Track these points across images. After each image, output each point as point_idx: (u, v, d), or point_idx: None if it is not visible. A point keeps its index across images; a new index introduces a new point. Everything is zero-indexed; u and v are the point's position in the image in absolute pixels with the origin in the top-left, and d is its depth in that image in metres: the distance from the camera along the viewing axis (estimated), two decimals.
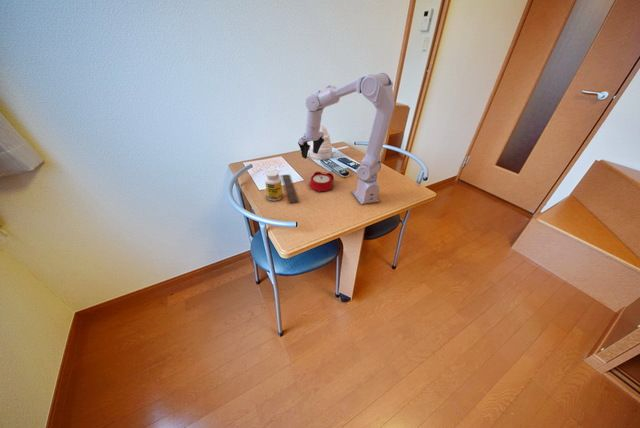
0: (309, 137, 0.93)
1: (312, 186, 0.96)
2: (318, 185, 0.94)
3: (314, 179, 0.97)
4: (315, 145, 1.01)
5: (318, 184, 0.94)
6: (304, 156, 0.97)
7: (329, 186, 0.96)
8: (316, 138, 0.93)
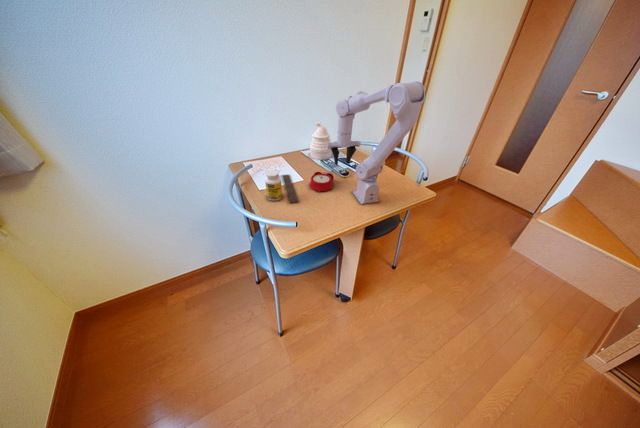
0: (338, 143, 0.90)
1: (312, 186, 0.96)
2: (318, 185, 0.94)
3: (314, 179, 0.97)
4: (347, 154, 0.96)
5: (318, 184, 0.94)
6: (335, 162, 0.96)
7: (329, 186, 0.96)
8: (345, 145, 0.89)
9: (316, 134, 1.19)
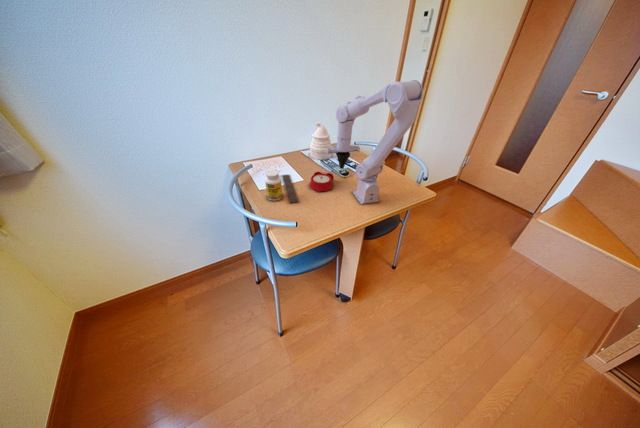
0: (337, 148, 0.92)
1: (312, 186, 0.96)
2: (318, 185, 0.94)
3: (314, 179, 0.97)
4: None
5: (318, 184, 0.94)
6: (340, 166, 0.97)
7: (329, 186, 0.96)
8: (344, 150, 0.91)
9: (316, 134, 1.19)
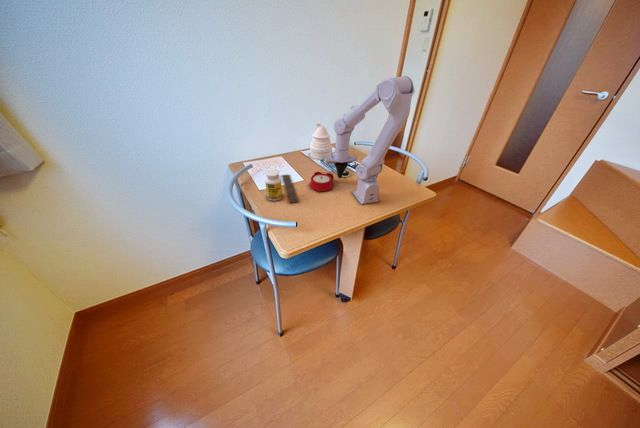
0: (335, 158, 0.94)
1: (312, 186, 0.96)
2: (318, 185, 0.94)
3: (314, 179, 0.97)
4: None
5: (318, 184, 0.94)
6: (338, 175, 1.00)
7: (329, 186, 0.96)
8: (342, 160, 0.93)
9: (316, 134, 1.19)
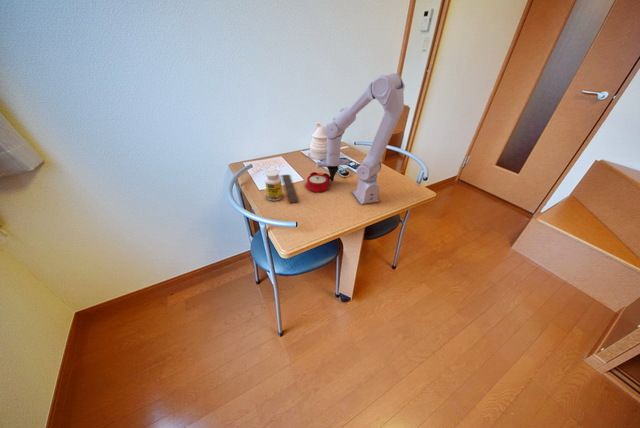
0: (327, 162, 0.94)
1: (308, 187, 0.96)
2: (314, 186, 0.94)
3: (310, 179, 0.96)
4: (331, 172, 0.99)
5: (314, 184, 0.93)
6: None
7: (325, 187, 0.96)
8: (333, 164, 0.93)
9: (316, 134, 1.19)
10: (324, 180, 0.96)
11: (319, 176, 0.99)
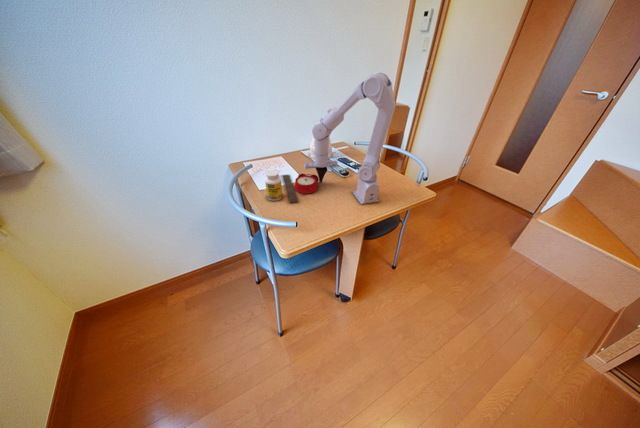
0: (315, 163, 0.93)
1: (297, 189, 0.94)
2: (303, 188, 0.92)
3: (298, 181, 0.95)
4: None
5: (302, 186, 0.92)
6: (319, 180, 0.99)
7: (314, 188, 0.94)
8: (321, 165, 0.92)
9: None
10: (312, 181, 0.95)
11: (307, 177, 0.98)
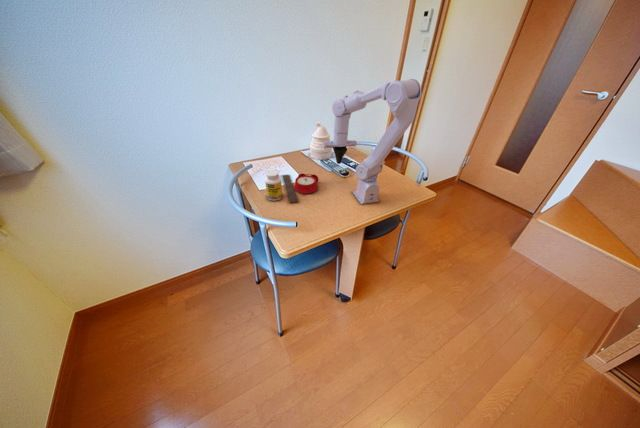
0: (334, 142, 0.91)
1: (297, 188, 0.94)
2: (303, 187, 0.92)
3: (298, 181, 0.95)
4: None
5: (302, 186, 0.92)
6: (337, 161, 0.97)
7: (314, 188, 0.94)
8: (341, 144, 0.90)
9: (316, 134, 1.19)
10: (312, 181, 0.95)
11: (307, 177, 0.98)
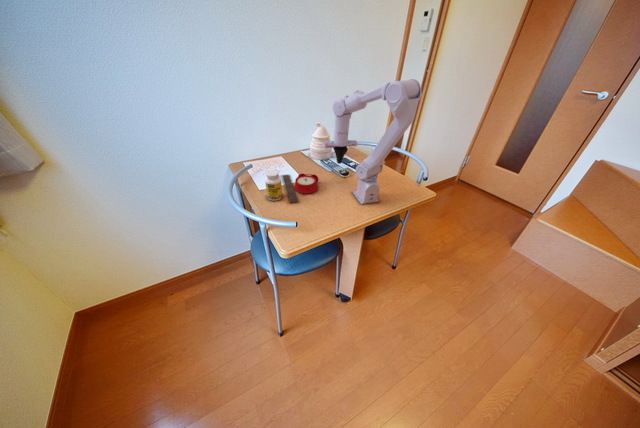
0: (335, 142, 0.91)
1: (297, 188, 0.94)
2: (303, 187, 0.92)
3: (298, 181, 0.95)
4: None
5: (302, 186, 0.92)
6: (337, 161, 0.97)
7: (314, 188, 0.94)
8: (342, 144, 0.90)
9: (316, 134, 1.19)
10: (312, 181, 0.95)
11: (307, 177, 0.98)
